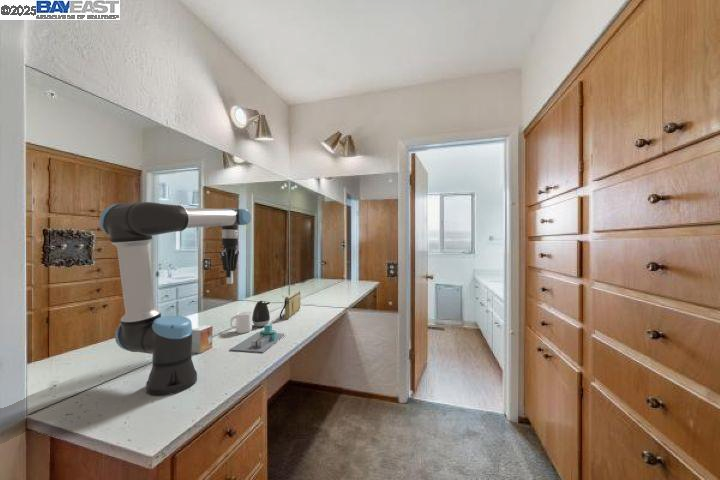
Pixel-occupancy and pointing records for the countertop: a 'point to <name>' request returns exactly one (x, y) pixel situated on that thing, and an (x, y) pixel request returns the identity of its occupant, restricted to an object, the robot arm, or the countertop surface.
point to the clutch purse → (291, 304)
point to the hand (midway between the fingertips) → (229, 283)
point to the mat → (247, 347)
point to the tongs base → (264, 340)
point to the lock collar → (268, 331)
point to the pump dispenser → (261, 314)
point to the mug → (242, 322)
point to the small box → (201, 338)
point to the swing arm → (254, 342)
